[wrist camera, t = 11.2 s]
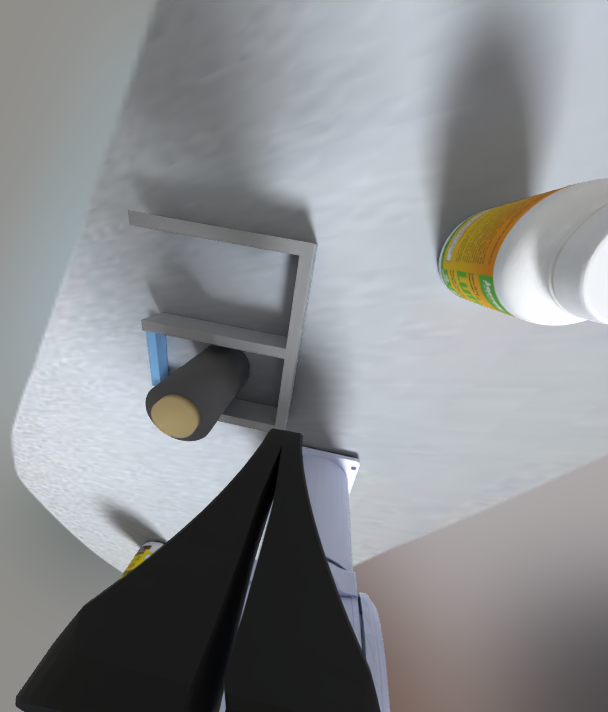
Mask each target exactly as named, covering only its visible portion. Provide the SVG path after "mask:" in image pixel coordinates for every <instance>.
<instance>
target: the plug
mask: <svg viewBox="0 0 608 712" xmlns="http://www.w3.org/2000/svg"><path fill="white" fill-rule="evenodd" d="M249 372H250V366H249V362H248V359H247V357H246V356H245V354H244V353H243V352H242V351H241V350H238V349H233V348H228V347H223V346H218V345H213V344H212V345H211V346H209V347H208V348H206V349H205V350H204V351H202V352H201V353H200V354H198V355H197V356H195V357H194V358H193V359H191V360H190V361H189V362H187V363H186V364H185V365H183V366H182V367H181V368H179V369H178V370H176V371H175V372H174V373H172V374H171V375H170V376H168V377H167V378H166V379H164V380H163V381H162V382H160V383H159V384H158V385H156V386H155V387H153V388H152V389H151V390H150V391H149V393H148V395H147V397H146V410H147V413H148V415H149V417H150V419H151V420H152V422H153V423H154V424H155V425H156V426H157V428H158V429H160V430H161V431H162V432H163V433H165V434H167V435H168V436H170V437H173V438H175V439H178V440H183V441H196V440H199V439H202V438H204V437H205V436H206V435H207V434H208V433H209V432H210V431H211V429H212V428H213V426H214V425H215V423H216V422H217V421H218V419H219V418H220V416H221V415H222V414H223V412H224V411H225V409H226V408H227V406H228V405H229V404H230V402H231V401H232V399H233V398H234V397H235V395H236V394H237V392H238V391H239V389H240V388H241V387H242V385H243V384H244V382H245V381H246V380H247V378H248V376H249Z"/></svg>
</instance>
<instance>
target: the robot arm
mask: <svg viewBox="0 0 608 712" xmlns="http://www.w3.org/2000/svg"><path fill="white" fill-rule="evenodd" d="M302 438H303V436H302V434H301V433H296V432H290V431H285V430H280V429H274V428H272V429H270V431H269V432H268V434H267V436H266V437H265V439H264V440H263V442H262V443H261V445H260V446H259V448H258V449H257V450H256V452H255V453H254V454H253V456H252V457H251V458H250V459H249V461H248V462H247V463H246V464H245V466H244V467H243V468H242V469H241V471H240V472H239V473H238V474H237V475H236V476H235V477H234V478H233V480H232V481H231V482H230V483H229V484H228V485H227V486H226V487H225V488H224V490H223V491H222V492H221V493H220V494H219V495H218V496H217V497H216V498H215V499H214V500H213V501H212V502H211V503H210V504H209V505H208V506H207V507H206V508H205V509H204V510H203V511H202V512H200V513H199V514H198V515H197V516H196V517H195V518H194V519H193V520H192V521H191V522H190V523H188V524H187V525H186V526H185V527H184V528H183V529H182V530H181V531H179V532H178V533H177V534H176V535H175V536H174V537H173V538H171V539H170V540H169V541H168V542H166V543H165V544H164V545H163V546H161V547H160V548H159V549H158V550H157V551H155V552H154V553H153V554H152V555H150V556H149V557H148V558H147V559H145V560H144V561H143V562H142V563H140V564H139V565H138V566H137V567H135V568H134V569H133V570H131V571H130V572H129V573H127V574H126V575H125V576H123V577H122V578H121V579H119V580H118V581H116V582H115V583H114V584H113V585H111V586H110V587H108V588H107V589H106V590H104V591H103V592H102V593H100V594H99V595H98V596H96V597H95V598H94V599H92V600H91V601H89V602H88V603H87V604H85V605H84V606H83V608H82V609H81V610H80V611H79V612H78V613H77V615H76V616H75V617H74V618H73V619H72V621H71V622H70V623H69V624H68V626H67V627H66V628H65V629H64V631H63V632H62V633H61V634H60V636H59V637H58V638H57V639H56V641H55V642H54V643H53V645H52V646H51V648H50V649H49V650H48V652H47V653H46V655H45V656H44V658H43V659H42V661H41V662H40V663H39V665H38V666H37V668H36V669H35V670H34V672H33V673H32V675H31V676H30V677H29V679H28V680H27V682H26V683H25V685H24V686H23V687H22V689H21V690H20V692H19V693H18V695H17V696H16V707H18V708H19V709H21V710H22V711H24V712H390V709H389V694H388V683H387V672H386V662H385V653H384V645H383V640H382V631H381V627H380V620H379V616H378V612H377V609H376V607H375V606H374V604H373V603H372V602H371V600H370V598H369V596H368V595H367V594H366V593H361V592H359V593H358V599H357V581H356V573H355V572H353V567H352V547H351V528H350V508H349V494H350V491H351V488H352V486H353V483H354V480H355V477H356V475H357V472H358V469H359V466H360V461H359V460H358V459H356V458H352V457H348V456H343V455H339V454H334V453H330V452H325V451H321V450H316V449H312V448H307V447H302ZM352 466H354V467H352ZM267 518H268V519H267ZM266 521H267V523H266ZM265 525H266V527H265ZM264 528H265V531H264ZM263 531H264V535H263V538H262V542H261V546H260V550H259V554H258V558H257V560H255V557H256V554H257V550H258V547H259V543H260V540H261V537H262V534H263Z"/></svg>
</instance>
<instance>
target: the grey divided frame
mask: <svg viewBox="0 0 608 712" xmlns="http://www.w3.org/2000/svg"><path fill="white" fill-rule="evenodd" d="M128 214H129V223H130V225H134V226H139V227H145V228H150V229H156V230H161V231H167V232H172V233H178V234H183V235H189V236H194V237H200V238H206V239H211V240H217V241H222V242H228V243H233V244H239V245H244V246H250V247H255V248H261V249H266V250H272V251H277V252H283V253H288V254H294V255H299V261H298V268H297V275H296V282H295V289H294V296H293V303H292V310H291V317H290V324H289V331H288V337H285V336H280V335H275V334H270V333H265V332H260V331H255V330H250V329H245V328H240V327H235V326H230V325H225V324H220V323H215V322H210V321H205V320H199V319H194V318H189V317H184V316H179V315H174V314H169V313H164V312H163V313H160V314H157V315H154V316H152V317H149V318H146V319H143V320H141V321H142V329H143V330H144V331H146V336H147V344H148V353H149V362H150V370H151V379H152V386H156V385H158V384H159V383H160V382H162V381H163V380H164V379H166V378H167V377H168V376H169V374H168V361H167V349H166V337H165V335H169V336H174V337H179V338H184V339H189V340H194V341H198V342H203V343H208V344H213V345H218V346H223V347H228V348H233V349H238V350H243V351H248V352H253V353H258V354H263V355H267V356H272V357H277V358H282V359H284V366H283V373H282V380H281V387H280V394H279V401H278V407H273V406H268V405H264V404H259V403H254V402H250V401H245V400H240V399H236V398H233V399H232V401H231V402H230V404H229V405H228V406H227V408H226V409H225V411H224V412H223V414H222V415H221V416H220V418H219V419H218V421H221V422H225V423H230V424H235V425H239V426H244V427H248V428H253V429H258V430H262V431H267V432H269V431H270V429H272V428H274V429H280V430H285V427H286V423H287V420H288V416H289V410H290V404H291V398H292V392H293V387H294V381H295V375H296V369H297V363H298V357H299V351H300V345H301V339H302V333H303V327H304V322H305V316H306V310H307V304H308V298H309V292H310V286H311V280H312V274H313V268H314V262H315V257H316V251H317V244H314V243H309V242H303V241H297V240H292V239H286V238H280V237H275V236H269V235H264V234H258V233H252V232H247V231H241V230H236V229H230V228H224V227H219V226H213V225H208V224H202V223H196V222H191V221H185V220H180V219H174V218H168V217H163V216H157V215H152V214H146V213H140V212H135V211H129V210H128Z"/></svg>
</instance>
